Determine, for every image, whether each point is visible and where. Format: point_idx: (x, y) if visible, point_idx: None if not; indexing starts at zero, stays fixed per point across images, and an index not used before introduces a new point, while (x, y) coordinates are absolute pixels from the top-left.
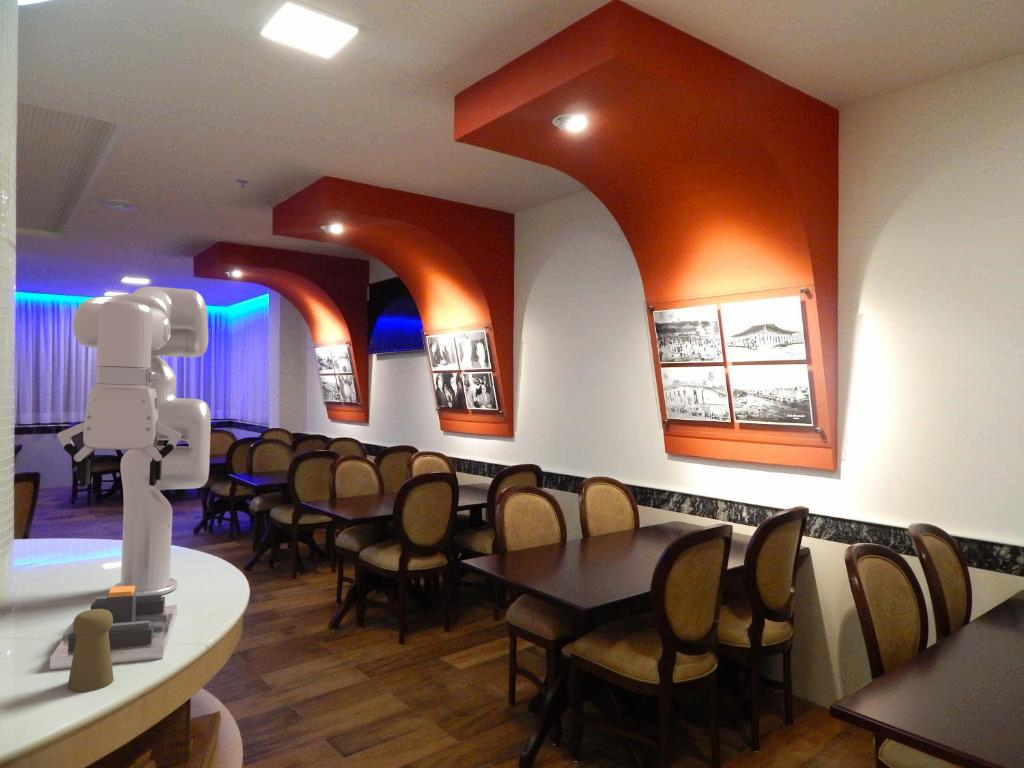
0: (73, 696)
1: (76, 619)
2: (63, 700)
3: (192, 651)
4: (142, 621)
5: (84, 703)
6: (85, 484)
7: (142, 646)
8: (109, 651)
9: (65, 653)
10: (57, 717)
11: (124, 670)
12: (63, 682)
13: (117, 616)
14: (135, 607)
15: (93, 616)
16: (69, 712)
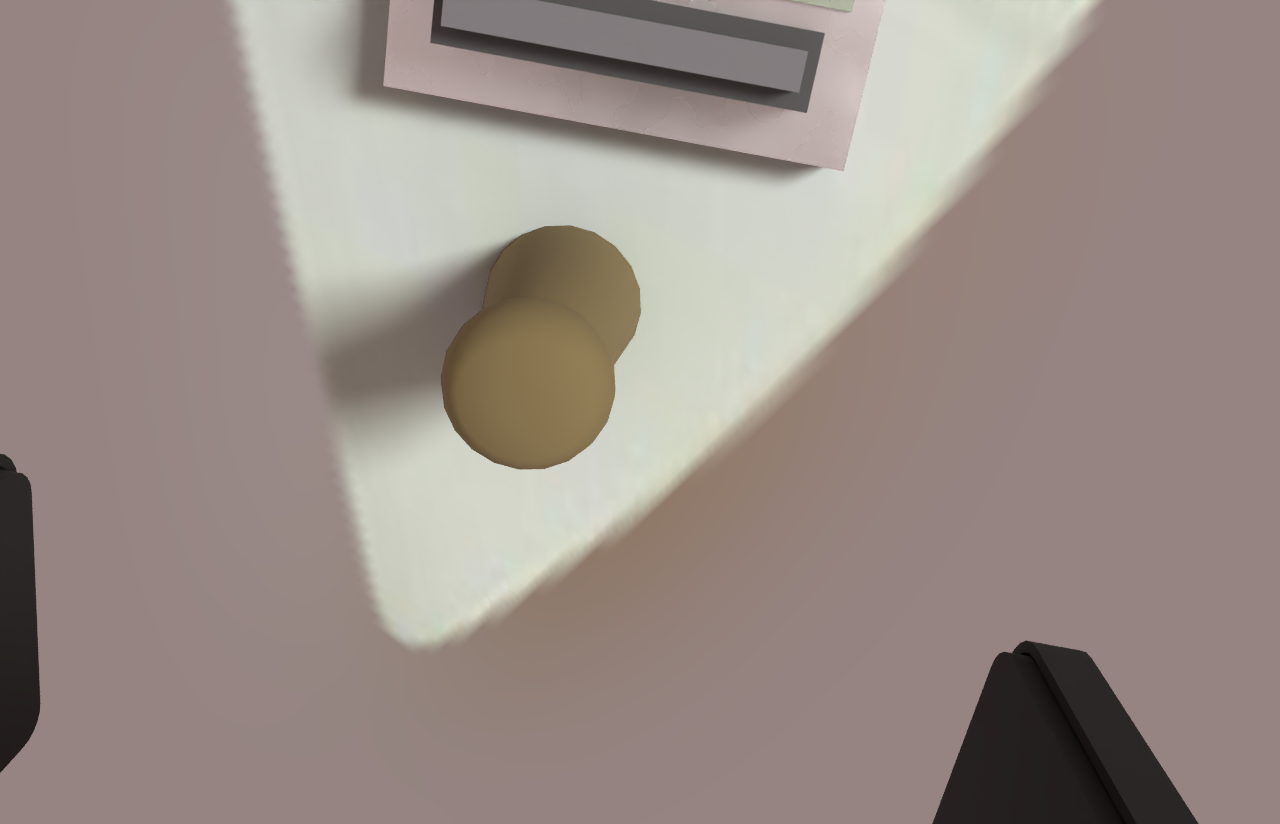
0: None
1: (451, 420)
2: None
3: (968, 129)
4: (769, 51)
5: (552, 466)
6: (23, 727)
7: (759, 124)
8: (614, 360)
9: (439, 63)
10: (482, 529)
11: (680, 226)
12: (467, 247)
13: None
14: None
15: (524, 457)
16: (513, 511)
